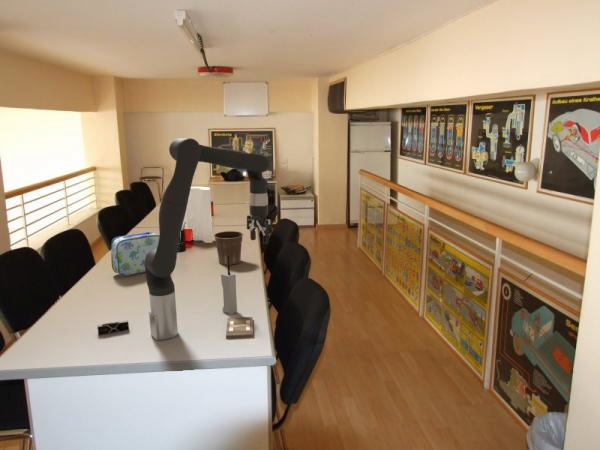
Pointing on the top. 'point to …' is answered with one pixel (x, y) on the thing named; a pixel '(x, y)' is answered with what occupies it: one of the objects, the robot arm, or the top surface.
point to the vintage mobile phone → (229, 291)
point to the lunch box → (132, 252)
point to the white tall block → (199, 214)
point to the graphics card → (113, 327)
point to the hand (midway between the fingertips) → (259, 241)
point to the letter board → (239, 327)
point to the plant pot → (229, 247)
